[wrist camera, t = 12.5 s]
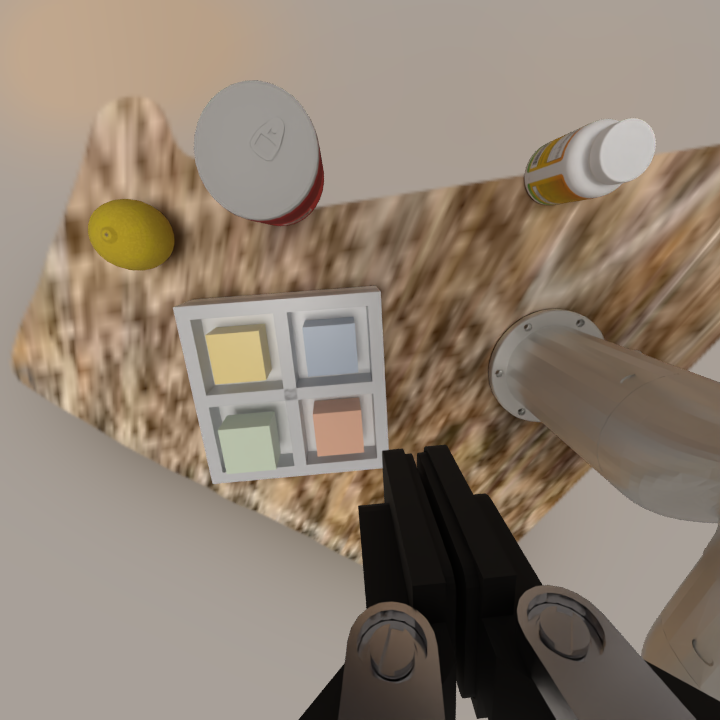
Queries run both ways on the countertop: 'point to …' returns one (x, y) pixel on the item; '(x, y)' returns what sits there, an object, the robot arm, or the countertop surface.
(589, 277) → the countertop surface
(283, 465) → the keypad
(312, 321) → the key slate
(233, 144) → the canned food
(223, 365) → the key mustard
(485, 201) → the countertop surface
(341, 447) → the key terracotta
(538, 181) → the supplement bottle
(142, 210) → the lemon
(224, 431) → the key sage
